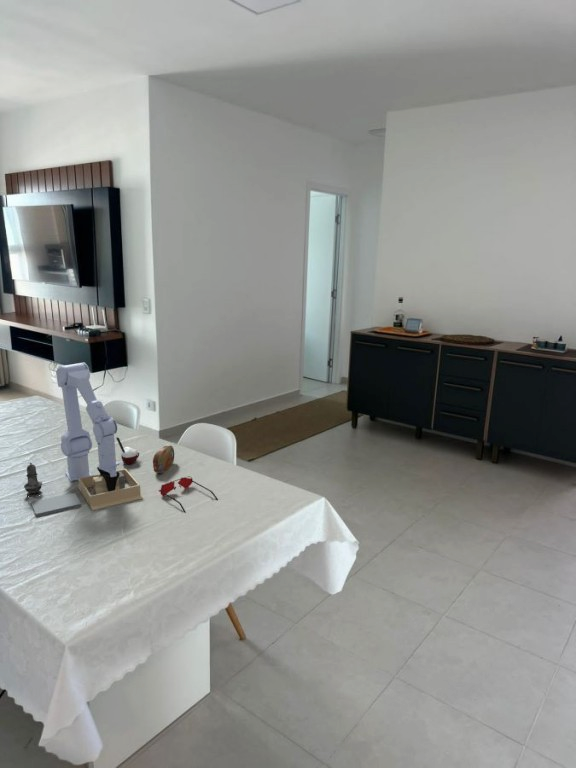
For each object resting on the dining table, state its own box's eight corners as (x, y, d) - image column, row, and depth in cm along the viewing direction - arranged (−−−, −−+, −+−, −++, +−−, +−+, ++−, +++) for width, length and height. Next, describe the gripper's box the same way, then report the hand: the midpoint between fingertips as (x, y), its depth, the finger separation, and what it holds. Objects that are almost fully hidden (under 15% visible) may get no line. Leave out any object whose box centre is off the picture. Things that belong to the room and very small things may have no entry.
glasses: (191, 485, 196) (191, 473, 195) (218, 501, 185) (218, 487, 183) (158, 497, 187) (157, 484, 185) (184, 513, 175) (184, 500, 174)
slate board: (31, 504, 179) (31, 501, 179) (74, 494, 186) (74, 492, 186) (36, 516, 171) (35, 514, 171) (81, 506, 178) (81, 503, 178)
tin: (159, 476, 203) (158, 456, 201) (152, 476, 203) (150, 455, 201) (175, 462, 217) (174, 442, 215) (168, 461, 217) (167, 442, 215)
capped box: (93, 493, 188) (92, 477, 187) (122, 486, 193) (121, 471, 192) (96, 497, 185) (95, 481, 183) (125, 491, 190) (124, 475, 189)
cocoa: (138, 459, 220) (138, 431, 218) (141, 464, 214) (141, 436, 212) (114, 462, 215) (114, 434, 213) (117, 467, 210) (116, 438, 208)
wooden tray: (77, 486, 193) (76, 475, 192) (124, 476, 203) (123, 466, 202) (92, 510, 176) (91, 499, 175) (143, 498, 185) (142, 487, 184)
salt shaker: (47, 492, 188) (43, 460, 185) (34, 499, 183) (30, 466, 180) (33, 489, 190) (30, 458, 187) (21, 496, 185) (17, 464, 182)
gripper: (124, 457, 182) (126, 493, 185) (112, 444, 193) (114, 478, 197) (103, 461, 178) (106, 498, 181) (92, 448, 190) (95, 482, 193)
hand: (109, 488), depth 189 cm, fingers open, 5 cm apart
